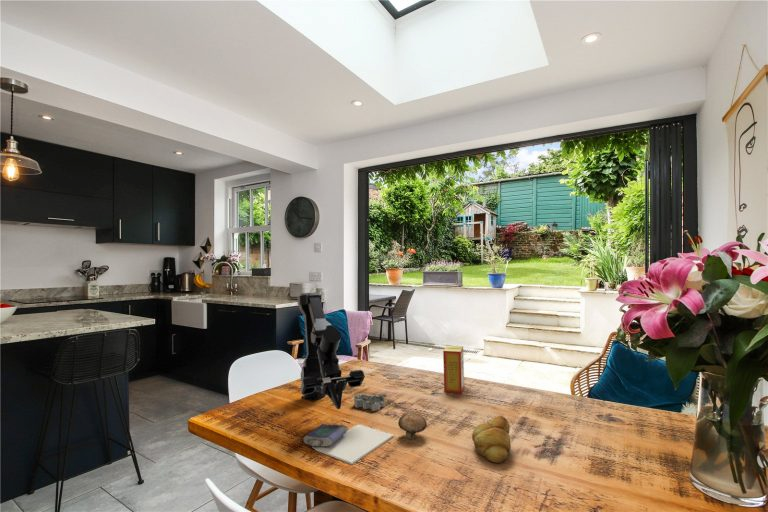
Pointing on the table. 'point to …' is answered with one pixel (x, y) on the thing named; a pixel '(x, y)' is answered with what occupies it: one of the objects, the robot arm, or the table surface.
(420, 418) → the mushroom
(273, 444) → the table surface
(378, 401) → the egg carton
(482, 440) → the bread roll
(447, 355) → the baking soda box
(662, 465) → the table surface
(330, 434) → the flask
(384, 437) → the serving board
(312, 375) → the robot arm
